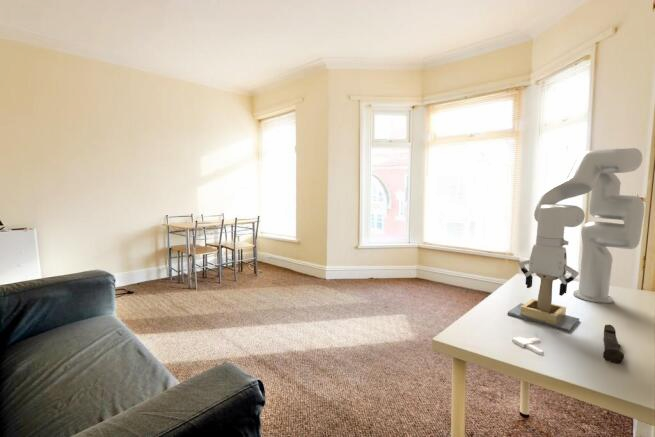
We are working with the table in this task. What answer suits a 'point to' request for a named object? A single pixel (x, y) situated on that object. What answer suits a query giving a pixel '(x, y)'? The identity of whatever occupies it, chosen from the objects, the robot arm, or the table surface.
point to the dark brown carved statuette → (611, 346)
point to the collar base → (545, 315)
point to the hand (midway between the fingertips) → (544, 290)
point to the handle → (545, 292)
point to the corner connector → (528, 343)
